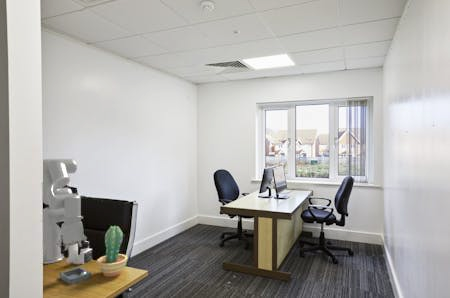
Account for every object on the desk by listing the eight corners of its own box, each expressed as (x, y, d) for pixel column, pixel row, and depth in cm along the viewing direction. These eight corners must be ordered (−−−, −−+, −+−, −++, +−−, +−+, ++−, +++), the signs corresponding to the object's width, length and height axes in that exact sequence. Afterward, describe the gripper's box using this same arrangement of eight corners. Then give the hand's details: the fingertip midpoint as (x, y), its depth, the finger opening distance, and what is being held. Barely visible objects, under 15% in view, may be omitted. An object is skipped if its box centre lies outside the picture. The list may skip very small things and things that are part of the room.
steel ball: (79, 278, 147) (79, 271, 147) (85, 276, 149) (85, 269, 149) (82, 280, 145) (82, 273, 145) (88, 277, 147) (88, 271, 147)
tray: (59, 279, 147) (59, 273, 147) (79, 272, 155) (79, 267, 155) (70, 286, 139) (70, 279, 139) (91, 278, 147) (91, 273, 147)
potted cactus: (133, 270, 158) (134, 224, 158) (114, 282, 143) (114, 231, 144) (110, 266, 163) (111, 222, 163) (89, 277, 149) (90, 228, 149)
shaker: (64, 260, 147) (64, 241, 147) (75, 257, 151) (75, 238, 151) (69, 263, 144) (69, 242, 144) (79, 260, 148) (80, 240, 148)
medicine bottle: (84, 265, 165) (84, 244, 165) (73, 264, 166) (73, 243, 166) (92, 260, 172) (92, 240, 172) (81, 259, 173) (82, 239, 173)
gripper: (85, 216, 157) (85, 250, 156) (51, 222, 143) (50, 259, 143) (92, 218, 152) (92, 252, 152) (57, 224, 139) (57, 262, 138)
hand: (72, 255), depth 147 cm, fingers closed on shaker, 5 cm apart
